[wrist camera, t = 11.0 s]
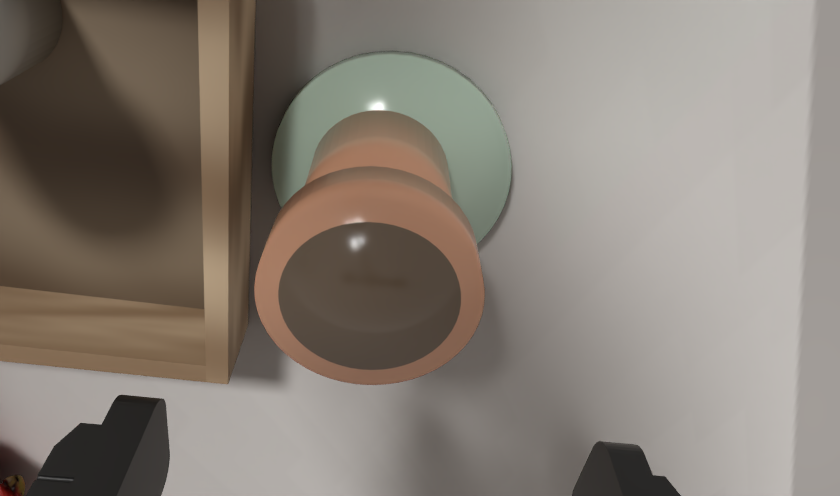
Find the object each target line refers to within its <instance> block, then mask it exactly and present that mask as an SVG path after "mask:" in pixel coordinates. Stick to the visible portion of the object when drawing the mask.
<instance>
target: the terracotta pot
mask: <svg viewBox="0 0 840 496" xmlns="http://www.w3.org/2000/svg"><path fill="white" fill-rule="evenodd" d="M254 292H255V302H256V307H257V311H258V314H259V317H260V319H261V322H262V324H263V326H264V327H265V329H266V331H267V333H268V334H269V336H270V337H271V338H272V340H273V341H274V342H275V344H276V345H277V346H278V347H279V348H280V349H281V350H282V351H283V352H284V353H285V354H287V355H288V356H289V357H290V358H292V359H293V360H294V361H296V362H297V363H299V364H300V365H302V366H304V367H305V368H307V369H309V370H311V371H313V372H315V373H317V374H320V375H322V376H325V377H328V378H331V379H334V380H338V381H342V382H347V383H354V384H365V385H381V384H391V383H399V382H403V381H407V380H411V379H414V378H417V377H420V376H423V375H425V374H427V373H429V372H432V371H434V370H436V369H437V368H439V367H441V366H442V365H444V364H445V363H447V362H448V361H450V360H451V359H452V358H453V357H455V356H456V355H457V354H458V353H459V352H460V351H461V350H462V349H463V348H464V347H465V346H466V344H467V343H468V342H469V340H470V339H471V337H472V336H473V334H474V332H475V330H476V329H477V327H478V325H479V322H480V319H481V316H482V313H483V307H484V297H485V289H484V282H483V276H482V270H481V265H480V259H479V253H478V248H477V242H476V238H475V235H474V232H473V229H472V226H471V224H470V222H469V220H468V218H467V217H466V215H465V214H464V212H463V211H462V209H461V208H460V206H459V205H458V204H457V203H456V202H455V201H454V200H453V199H452V192H451V184H450V177H449V169H448V163H447V159H446V155H445V152H444V150H443V148H442V146H441V144H440V143H439V141H438V140H437V138H436V137H435V136H434V135H433V134H432V132H431V131H430V130H429V129H427V128H426V127H425V126H424V125H423V124H421V123H420V122H418V121H417V120H415V119H413V118H411V117H409V116H406V115H404V114H401V113H397V112H392V111H385V110H370V111H365V112H360V113H357V114H353V115H351V116H349V117H346V118H344V119H343V120H341V121H339V122H338V123H336V124H335V125H334V126H333V127H332V128H330V129H329V130H328V131H327V133H326V134H325V135H324V136H323V138H322V139H321V141H320V142H319V144H318V146H317V148H316V150H315V153H314V157H313V160H312V163H311V166H310V170H309V173H308V176H307V179H306V183H305V186H303V187H302V188H301V189H300V190H298V191H297V192H296V193H295V194H294V195H293V196H292V197H291V198H290V199H289V200H288V201H287V202H286V203H285V204H284V206H283V207H282V209H281V210H280V212H279V213H278V215H277V217H276V219H275V221H274V223H273V226H272V228H271V231H270V234H269V237H268V239H267V242H266V245H265V248H264V251H263V253H262V256H261V259H260V262H259V265H258V268H257V272H256V276H255V285H254Z"/></svg>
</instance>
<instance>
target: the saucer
mask: <svg viewBox="0 0 840 496" xmlns="http://www.w3.org/2000/svg"><path fill="white" fill-rule="evenodd" d="M370 110H385V111H392V112H397V113H401V114H404V115H406V116H409V117H411V118H413V119H415V120H417V121H418V122H420V123H421V124H423V125H424V126H425V127H426V128H427V129H429V130H430V131H431V132H432V134H433V135H434V136H435V137H436V138H437V140H438V141H439V143H440V144H441V146H442V148H443V150H444V152H445V155H446V159H447V163H448V169H449V177H450V184H451V192H452V199H453V200H454V201H455V202H456V203H457V204H458V205H459V206H460V208H461V209H462V211H463V212H464V214H465V215H466V217H467V218H468V220H469V222H470V224H471V226H472V229H473V232H474V235H475V238H476V242H477V244H478V243H479V242H480V241H481V240H482V239H483V238H484V237H485V235H486V234H487V233H488V232H489V231H490V230H491V228H492V227H493V225H494V224H495V222H496V221H497V219H498V217H499V215H500V213H501V211H502V209H503V207H504V205H505V202H506V199H507V196H508V193H509V187H510V182H511V169H512V164H511V154H510V148H509V144H508V140H507V136H506V133H505V130H504V128H503V125H502V123H501V120H500V118H499V116H498V114H497V112H496V110H495V109H494V107H493V105H492V103H491V102H490V101H489V99H488V98H487V97H486V96H485V94H484V93H483V92H482V91H481V90H480V89H479V88H478V87H477V86H476V85H475V84H474V83H473V82H472V81H471V80H470V79H469V78H467V77H466V76H465V75H463V74H462V73H460V72H459V71H458V70H456V69H454V68H452V67H450V66H449V65H447V64H445V63H443V62H441V61H438V60H435V59H433V58H430V57H427V56H423V55H419V54H414V53H409V52H399V51H382V52H372V53H366V54H361V55H357V56H354V57H351V58H348V59H345V60H343V61H340V62H338V63H336V64H334V65H332V66H330V67H328V68H327V69H325V70H324V71H322V72H321V73H319V74H318V75H316V76H315V77H314V78H313V79H312V80H311V81H309V82H308V83H307V84H306V85H305V86H304V87H303V88H302V89H301V91H300V92H299V93H298V94H297V95H296V96H295V98H294V99H293V101H292V102H291V104H290V106H289V107H288V109H287V110H286V113H285V115H284V117H283V119H282V121H281V124H280V126H279V128H278V131H277V134H276V137H275V141H274V145H273V152H272V178H273V184H274V189H275V192H276V195H277V199H278V202H279V204H280V206H281V208H282V207H283V206H284V204H285V203H286V202H287V201H288V200H289V199H290V198H291V197H292V196H293V195H294V194H295V193H296V192H297V191H298V190H300V189H301V188H302V187H303V186H305V183H306V179H307V176H308V173H309V170H310V166H311V163H312V160H313V157H314V153H315V150H316V148H317V146H318V144H319V142H320V141H321V139H322V138H323V136H324V135H325V134H326V133H327V131H328V130H329V129H330V128H332V127H333V126H334V125H335V124H336V123H338V122H339V121H341V120H343V119H344V118H346V117H349V116H351V115H353V114H357V113H360V112H365V111H370Z"/></svg>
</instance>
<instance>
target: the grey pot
mask: <svg viewBox="0 0 840 496" xmlns="http://www.w3.org/2000/svg"><path fill="white" fill-rule="evenodd" d="M61 30H62V8H61V3H60V0H0V85H1V84H3V83H5V82H7V81H8V80H10V79H12V78H14V77H15V76H17V75H19V74H21V73H22V72H24V71H26V70H28V69H29V68H31V67H33V66H35V65H36V64H38V63H40V62H41V61H43V60H44V59H45V58H47V57H48V56H49V55H50V53H51V52H52V51H53V50H54V48H55V46H56V45H57V43H58V40H59V38H60V34H61Z"/></svg>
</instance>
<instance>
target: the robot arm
mask: <svg viewBox="0 0 840 496" xmlns="http://www.w3.org/2000/svg"><path fill="white" fill-rule="evenodd" d="M169 459H170V451H169V438H168V426H167V414H166V404H165V401H164V399H160V398H149V397H139V396H128V395H119V396H118V397H117V398H116V399H115V400H114V402H113V404H112V406H111V407H110V409H109V411H108V413H107V415H106V417H105V419H104V421H103V423H102V425H98V424H87V423H80V424H79V425H78V426H77V427H76V428H75V429H73V430H72V431H71V432H70V433H69V434H68V435H67V436H65V437H64V438H63V439H62V440H61V441H60V442H59V443H57V444H56V445H55V446H54V448H53V449H52V451H51V453H50V455H49V456H48V458H47V460H46V461H45V463H44V465H43V467H42V468H41V470H40V472H39V474H38V478H37V480H35V481H34V482H33V484H32V486H31V488H30V489H29V491H28V493H27V495H26V496H161V494H162V491H163V488H164V485H165V482H166V478H167V473H168V468H169ZM572 496H681V495H680V494H679V493H678V492H677V491H676V489H675V488H674V487H673V486H672V485H671V483H670V482H669V481H668V480H667V478H666V477H664V476H653V475H652V473H651V470H650V467H649V465H648V462H647V460H646V457H645V455H644V452H643V451H642V449H641V448H640V447H639V446H638V445H633V444H623V443H612V442H601V441H599V442H597V443H596V444H595V445H594V447H593V449H592V451H591V453H590V455H589V457H588V459H587V462H586V464H585V466H584V468H583V470H582V472H581V474H580V477H579V479H578V481H577V483H576V485H575V487H574V490H573V494H572Z"/></svg>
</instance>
